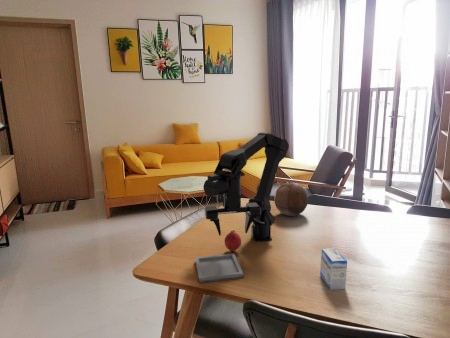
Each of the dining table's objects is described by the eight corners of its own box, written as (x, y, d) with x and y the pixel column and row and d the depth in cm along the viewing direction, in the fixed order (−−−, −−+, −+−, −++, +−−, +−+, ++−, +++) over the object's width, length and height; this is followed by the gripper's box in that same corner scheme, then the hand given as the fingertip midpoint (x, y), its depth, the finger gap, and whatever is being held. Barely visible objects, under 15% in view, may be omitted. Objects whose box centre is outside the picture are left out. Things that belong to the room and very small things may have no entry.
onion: (239, 255, 109) (239, 233, 108) (223, 254, 111) (222, 232, 109) (242, 248, 115) (242, 227, 113) (226, 247, 116) (226, 226, 115)
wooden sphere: (310, 211, 151) (311, 180, 148) (303, 222, 138) (304, 188, 134) (279, 208, 157) (279, 178, 154) (269, 218, 144) (270, 185, 141)
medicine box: (319, 275, 96) (320, 248, 95) (334, 274, 97) (335, 247, 95) (330, 290, 89) (331, 261, 87) (345, 289, 89) (347, 260, 87)
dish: (234, 257, 108) (234, 253, 108) (243, 277, 96) (243, 273, 96) (195, 261, 106) (195, 257, 106) (199, 282, 94) (199, 278, 93)
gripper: (252, 182, 118) (253, 223, 121) (201, 186, 114) (203, 227, 118) (261, 191, 107) (261, 235, 110) (205, 195, 104) (207, 240, 107)
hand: (232, 234), depth 112 cm, fingers open, 9 cm apart
